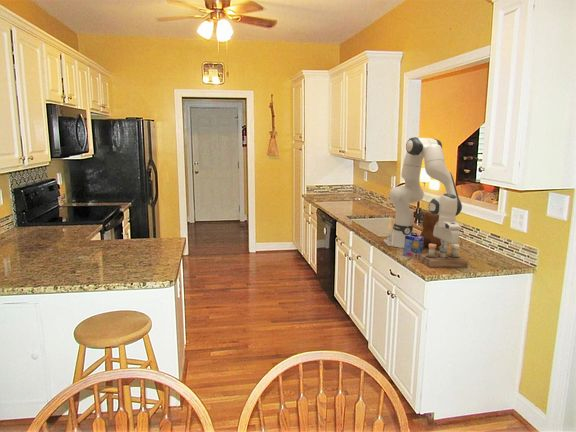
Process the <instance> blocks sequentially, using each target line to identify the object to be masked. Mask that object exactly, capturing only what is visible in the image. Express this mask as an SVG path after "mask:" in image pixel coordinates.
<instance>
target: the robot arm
mask: <svg viewBox="0 0 576 432" xmlns="http://www.w3.org/2000/svg"><path fill="white" fill-rule="evenodd" d="M405 150H406V153H405V156H404V159H403V163H402V170H401V174H400V175H401V177H402V179H403V180H404V185H399V186H394V187H392V188H391V189H390V190H389V193H388V198H389V200H390V201H391V202H392V204H393V207H394V210H395V219H394V223H393V225H392V226H393V227H392V229H391V230H390V231H389V232H388V233H387V234H386V239H385V238H384V239H383V242H384V244H385V245H386V246H388V247H395V248H399V249H404V244H405V235H408V234H410V235H411V232H413V229H414V225H413V223H414V212H413V210H411V208H410V204H415V203H418V202H421V201H422V200H423V199H424V196H425V193H424V190H423V188H422V187H421V184H420V183H421V182H420V175H421V170H422V165H423V161H424V168H425V169H424V170H425V173H426V175H428V176H429V177H430V178H432V179H433V180H436V181H438V182H440V183H442V184H443V186H444V188H445V191H446V193H443V194H442V195H441V196H440V197H436V198H432V199H431V200H430V201H429V204H428V210H429V211H430V212H431V213H432V214H434V215H439V221H437V222H436V225H435V226H434V231H433V236H434V237H437V238H439V239H441V246H440V247H442V248H444V249H447V248H448V245H449V244H451V245H452V244H458V243H459V239H460V230H461V225H460V224H459V223H458V222H457V221H456V220H457V216H458V215H459V214H460V213H461V212H462V209H463V205H462V202H461V200H460V198H459V194H458V190H457V188H456V183H455V180H454V176H453V175H452V172H450V171H449V169H448V168H447V166H446V160H445V155H444V151H443V144H442V142H441V140H439V139H436V138H431V137H415V136H414V137H410V138H409V139H408V140H407V141H406V143H405ZM447 250H448V249H447Z"/></svg>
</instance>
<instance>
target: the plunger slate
mask: <svg viewBox="0 0 576 432" xmlns="http://www.w3.org/2000/svg"><path fill="white" fill-rule="evenodd" d="M447 253H448V247H447V249H444V248H442V247H441V246H440V247H439V254H440V258H446V254H447Z"/></svg>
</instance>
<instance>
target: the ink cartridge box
mask: <svg viewBox="0 0 576 432" xmlns="http://www.w3.org/2000/svg"><path fill="white" fill-rule="evenodd" d="M423 244H424V237H421V236H420V235H418V232H413V231H412V232H411V235H410V234H408V235H405V244H404V248H403V256H406V257H411V258H415V259H418V254H424V246H423Z"/></svg>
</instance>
